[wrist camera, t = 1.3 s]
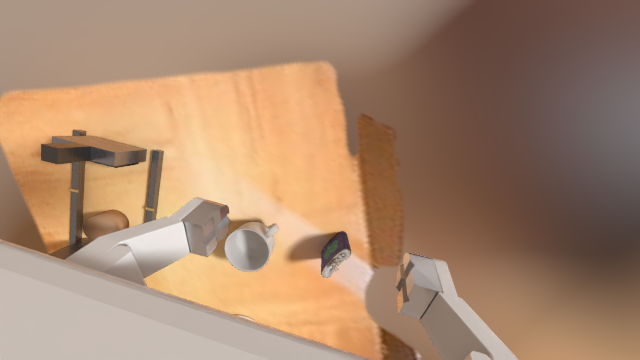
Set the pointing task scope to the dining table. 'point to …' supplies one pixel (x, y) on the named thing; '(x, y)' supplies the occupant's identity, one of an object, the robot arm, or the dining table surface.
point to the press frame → (77, 201)
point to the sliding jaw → (91, 151)
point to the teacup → (250, 246)
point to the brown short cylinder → (105, 224)
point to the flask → (335, 253)
